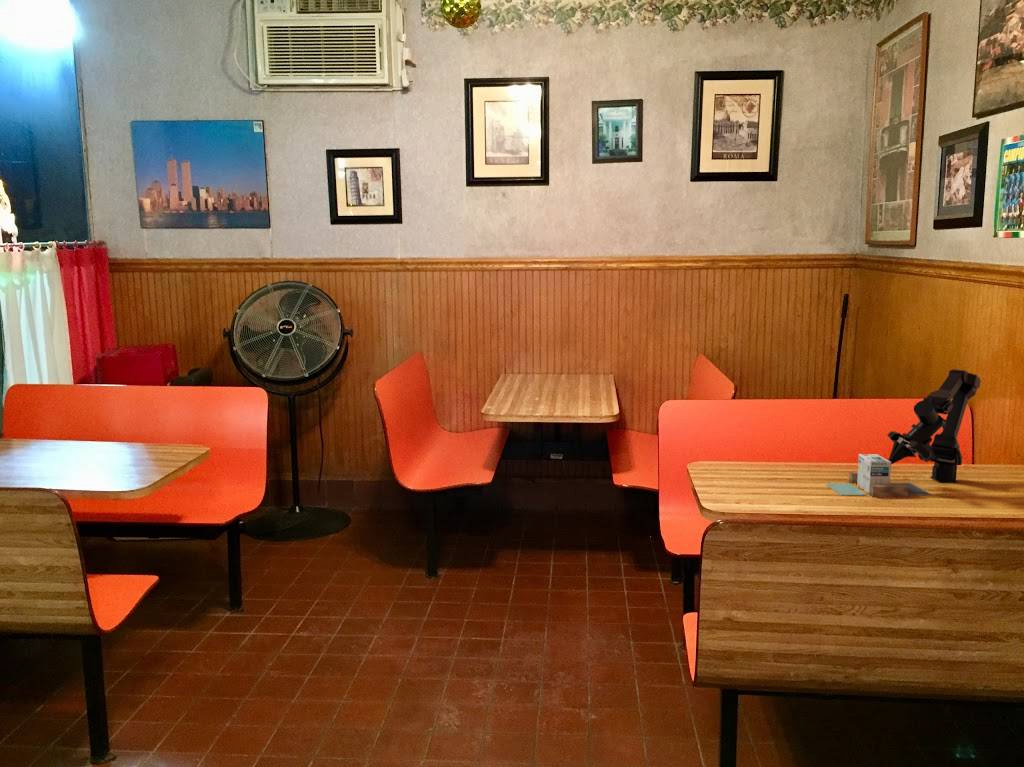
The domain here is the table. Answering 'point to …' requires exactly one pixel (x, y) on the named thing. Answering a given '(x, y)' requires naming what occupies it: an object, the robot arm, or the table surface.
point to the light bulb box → (873, 471)
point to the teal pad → (845, 489)
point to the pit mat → (913, 489)
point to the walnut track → (882, 488)
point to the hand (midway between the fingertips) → (889, 463)
